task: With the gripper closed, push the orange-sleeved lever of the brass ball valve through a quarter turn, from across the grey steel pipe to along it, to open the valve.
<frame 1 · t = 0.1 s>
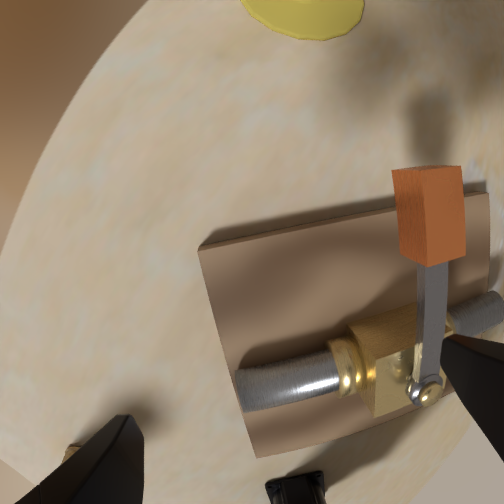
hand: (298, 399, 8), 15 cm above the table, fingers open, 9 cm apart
valve lever: (432, 303, 15), point 8 cm above the table, hinge at 0.0°
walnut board: (374, 332, 24), on the table
valve body: (374, 332, 24), resting on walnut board
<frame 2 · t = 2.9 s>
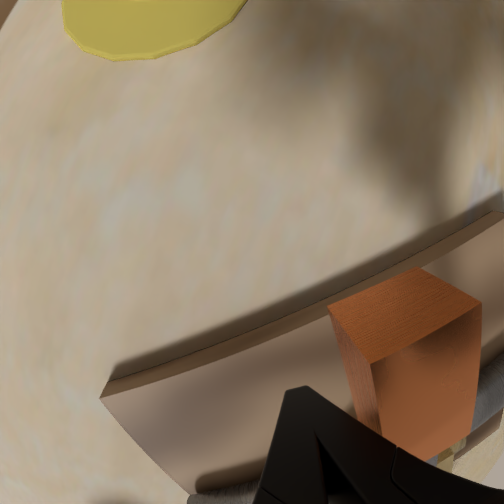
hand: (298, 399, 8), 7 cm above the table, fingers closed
valve lever: (412, 471, 8), point 8 cm above the table, hinge at -2.7°, touching gripper
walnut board: (361, 427, 17), on the table
valve body: (361, 427, 17), resting on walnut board
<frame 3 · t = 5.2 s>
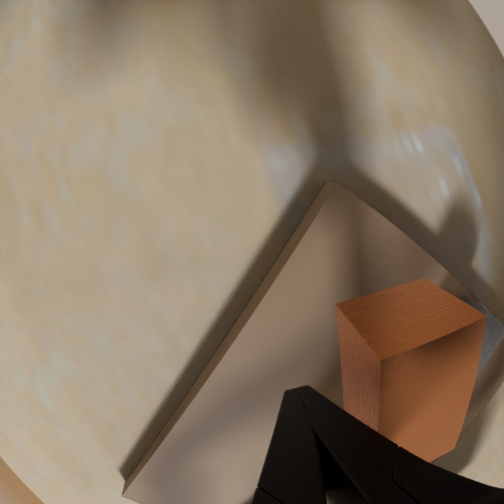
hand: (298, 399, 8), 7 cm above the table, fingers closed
valve lever: (389, 483, 8), point 8 cm above the table, hinge at -46.6°, touching gripper
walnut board: (336, 438, 17), on the table
valve body: (336, 438, 17), resting on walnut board
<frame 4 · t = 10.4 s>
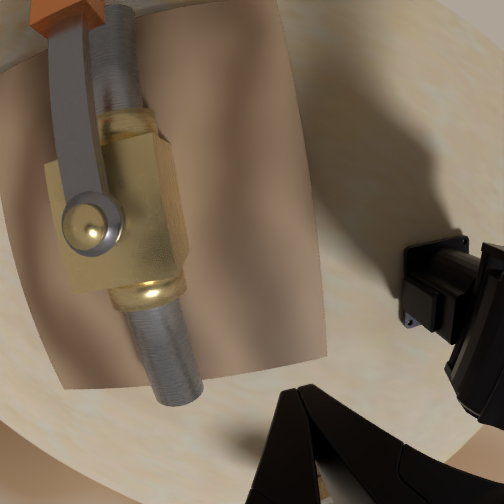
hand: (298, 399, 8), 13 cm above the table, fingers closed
valve lever: (70, 77, 9), point 8 cm above the table, hinge at -88.0°
sprinkles bottle: (325, 481, 27), on the table
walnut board: (142, 203, 19), on the table
valve body: (142, 203, 19), resting on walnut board
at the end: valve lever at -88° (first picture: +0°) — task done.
